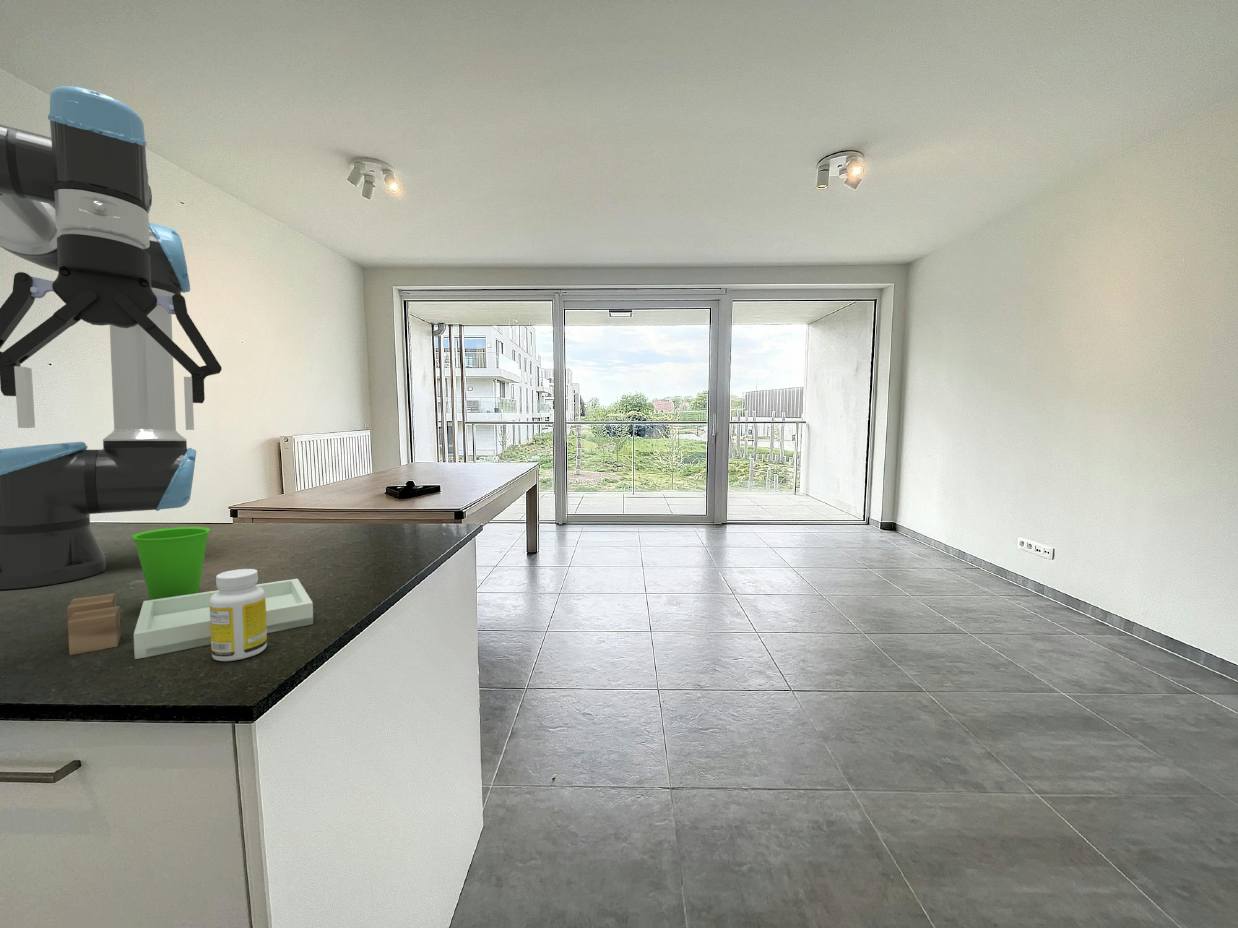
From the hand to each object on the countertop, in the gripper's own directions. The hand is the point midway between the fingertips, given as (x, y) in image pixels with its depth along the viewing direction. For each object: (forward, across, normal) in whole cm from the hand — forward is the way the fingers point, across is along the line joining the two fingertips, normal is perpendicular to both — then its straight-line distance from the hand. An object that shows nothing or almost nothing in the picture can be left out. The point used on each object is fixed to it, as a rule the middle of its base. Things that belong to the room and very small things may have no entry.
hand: (114, 429), depth 60 cm
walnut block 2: (+27, -3, +4) cm, 27 cm away
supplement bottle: (+27, +11, -9) cm, 30 cm away
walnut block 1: (+27, -4, +11) cm, 29 cm away
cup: (+27, +4, +17) cm, 32 cm away
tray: (+27, +10, +3) cm, 29 cm away
